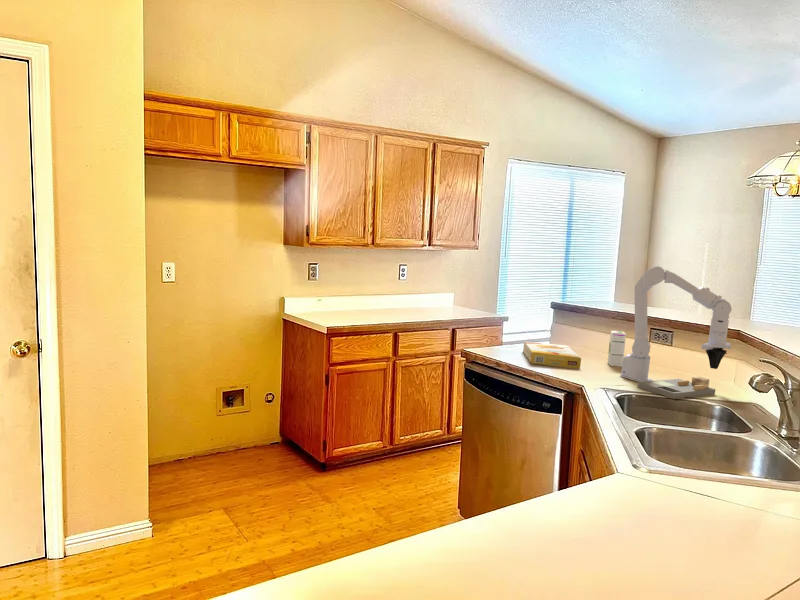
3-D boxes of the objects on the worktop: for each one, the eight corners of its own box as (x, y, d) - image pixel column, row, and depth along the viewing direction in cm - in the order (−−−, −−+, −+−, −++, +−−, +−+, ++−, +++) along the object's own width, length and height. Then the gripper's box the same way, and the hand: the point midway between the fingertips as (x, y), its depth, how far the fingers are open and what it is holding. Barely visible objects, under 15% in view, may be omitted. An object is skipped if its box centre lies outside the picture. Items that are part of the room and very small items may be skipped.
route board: (637, 387, 215) (638, 378, 214) (678, 383, 225) (679, 374, 225) (673, 399, 202) (674, 389, 201) (714, 394, 212) (716, 385, 212)
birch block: (691, 385, 216) (692, 377, 215) (698, 384, 217) (699, 376, 217) (701, 388, 212) (702, 379, 212) (708, 387, 214) (709, 379, 214)
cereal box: (532, 351, 242) (523, 339, 269) (530, 365, 242) (522, 351, 270) (582, 357, 240) (568, 344, 268) (580, 370, 241) (566, 356, 269)
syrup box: (623, 367, 250) (626, 333, 248) (608, 365, 251) (612, 332, 249) (620, 364, 255) (624, 331, 254) (606, 362, 257) (610, 330, 255)
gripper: (716, 334, 209) (711, 371, 210) (741, 333, 216) (736, 369, 217) (698, 330, 215) (693, 367, 216) (722, 330, 222) (718, 365, 223)
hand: (713, 368), depth 217 cm, fingers closed
